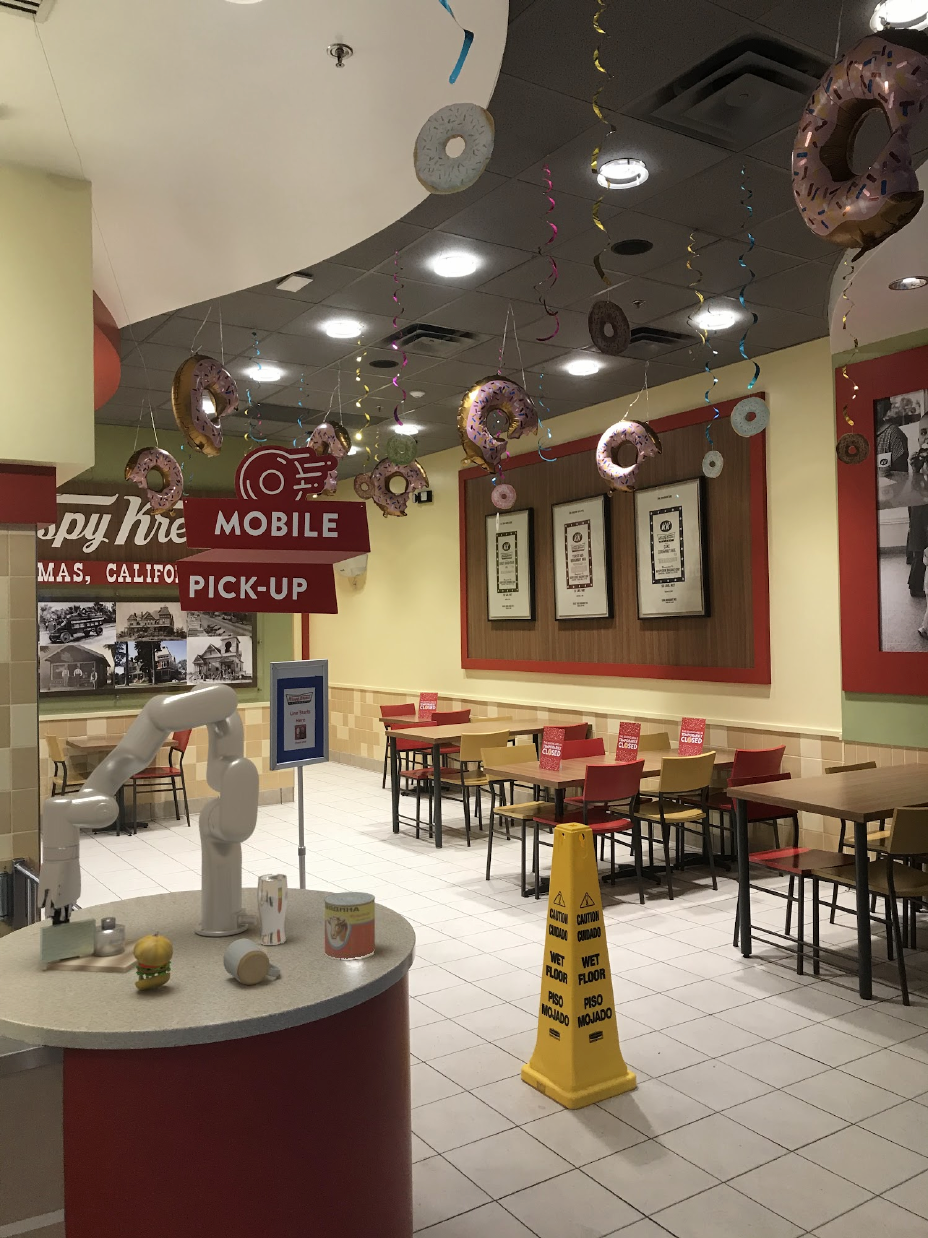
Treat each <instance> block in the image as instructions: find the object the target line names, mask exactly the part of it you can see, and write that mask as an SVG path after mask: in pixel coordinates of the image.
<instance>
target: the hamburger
mask: <svg viewBox="0 0 928 1238" xmlns="http://www.w3.org/2000/svg"><path fill="white" fill-rule="evenodd" d="M137 941H138V942H137V943H136V945H135V947H134V953H133V954H134V957H135V959H137V960H138V961H139V962H138V963H137V964H138V965H136V966H135V969H137V970H136V971H135V974H136V975H137V976H138V981H135V982H134V985H135V987H136V989H137V990H140V991H148V990H153V989H156V988H159V987H162V986H163V985H165V984H167V983H168V982H169V980H170V979H171V971H172V968H171V965H170V964H172V962H171V960H172V958H173V954H174V949H173V948H174V947H173V944H172V943H171V941H170V940H169V939H168V938H166V937H165V936H163V935H160V934H159V931H157V932H156V933H153V934H147V935H145V936H143V937H141V938H140V939H139V940H137ZM144 976H145V978H144Z"/></svg>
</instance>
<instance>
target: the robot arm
mask: <svg viewBox="0 0 928 1238" xmlns="http://www.w3.org/2000/svg"><path fill="white" fill-rule="evenodd" d="M191 688H192V689H190V691H189V692H185V693H179V694H158V695H155V696H152V698H150V699H149V700H148V701H147V703H146V704H145V705H144V706H143V708H142V709H141V711H140V712H139V714H138V715H137V717H136V718H135V720H134V721H133V722H132V723H131V726H130V727H129V728H128V730H127V731H126V733H125V734H124V735H123V737H122V738H121V740H120V741H119V743H118V744H117V745H116V747H115V748H114V749H112V751H111V752H109V753H108V755H107V756H106V757H105V758H104V759H103V760H102V761H101V762H100V763H99V764H98V765H97V766H96V767H95V769H93V771H92V772H91V774H90V775H89V776H88V777H87V779H86V781H85V782H84V783H83V784H82V786H81V788H80V789H79V791H78V792H77V794H76V795H75V796H72V795H59V796H57V795H56V796H52V797H51V796H50V797H48V798H47V799H45V800H44V801H43V804H42V863H41V865H40V869H39V870H40V871H39V877H38V888H37V907H38V909H44V912H43V913H44V916H45V917H50V920H51V922H52V923H51V926H52V925H57V924H63V923H69V922H71V921H70V920H71V919H70V918H71V916H72V909H73V908H74V906H75V905H76V904H77V902H78V900H79V898H81V894H82V875H81V874H82V873H81V863H80V862H81V861H80V843H81V842H80V841H81V840H80V839H81V838H80V837H81V836H80V835H81V833H80V830H81V829H102V828H106V827H109V826H111V825H112V824H113V823H114V822H115V821H116V820H117V818H118V816H119V813H120V808H119V805H118V803H117V801H116V800H115V798H114V796H115V795H116V793H117V792H118V791H119V789H120V788H121V787H122V785H124V784H125V782H126V781H128V780H129V779H130V778H132V777H133V776H134V775H137V774H138V773H140V772H141V771H144V770H145V769H146V768H148V767H149V766H150V764H151V763H152V762H153V760H154V759H155V757H156V756H157V755H158V753H159V751H160V750H161V748H162V747H163V745H164V744H165V743H166V741H167V739H168V738H169V737H170V735H171V733H179V732H182V731H188V730H192V729H196V728H200V727H204V726H205V727H206V729H207V735H208V736H207V737H208V738H207V739H208V741H207V742H208V747H207V758H206V759H207V761H206V773H205V775H206V777H205V778H206V783H207V784H208V786H209V788H210V789H211V790H213V791H215V792H217V793H219V797H218V798H213V799H211V800H209V801H208V802H206V803H205V805H203V807H202V809H201V810H200V813H199V816H198V830H199V831H198V832H199V837H200V848H201V903H200V904H201V907H200V908H201V911H200V912H201V913H200V915H201V916H200V919H201V921H200V922H199V923H197V924H196V925H195V926H194V933H195V934H196V935H199V936H203V937H226V936H233V935H237V934H241V933H243V932H244V931H246V930H248V928H249V925H252V926H253V925H257V923H258V916H257V915H256V914H247V912H246V910H247V909H246V907H245V908H243V904H242V903H243V902H242V901H243V899H242V898H243V897H242V896H243V895H242V894H243V891H242V890H243V889H242V888H243V887H242V884H243V879H242V877H243V876H242V875H243V873H242V872H243V871H242V870H243V869H242V868H243V855H242V854H243V852H242V851H243V850H242V843H244V842H245V841H247V840H248V839H249V838H250V837H251V836H252V835H253V833H254V831H255V829H256V826H257V822H258V812H259V811H258V809H259V808H258V807H259V794H260V775H259V771H258V769H257V768H258V767H257V766H256V765H255V764H254V762H253V761H251V760H250V759H249V758H247V757H245V756H244V754H245V752H244V751H245V750H244V749H245V744H244V743H245V732H244V731H245V729H244V724H243V719H242V718H241V715H240V713H239V711H238V705H239V698H238V694H237V692H236V691H235V690H234V689H233V687H231V686H229V685H227V684H223V683H211V682H209V683H208V682H207V683H206V682H205V683H200V684H197V685H194V687H191Z"/></svg>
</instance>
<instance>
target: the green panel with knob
mask: <svg viewBox="0 0 928 1238" xmlns="http://www.w3.org/2000/svg"><path fill="white" fill-rule="evenodd" d="M100 921H101V922H100V925H97V923H96V922H97V921H96V918H88V919H82V920H76V921H70V922H69V923H63V924H57V925H52V924H51V925H45V926H41V927H40V929H39V931H40V932H39V934H40V935H39V961H40V962H41V963H49V962H51V961H53V960H58V959H63V958H69V957H74V956H79V955H84V954H89V953H91V954H92V955H96V956H109V955H115V954H119V953H121V952H123V951H124V950H125V940H126V925H125V924H121V923H117V919H116V917H114V916H107V917H102V918H101V919H100ZM96 925H97V926H96Z"/></svg>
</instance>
